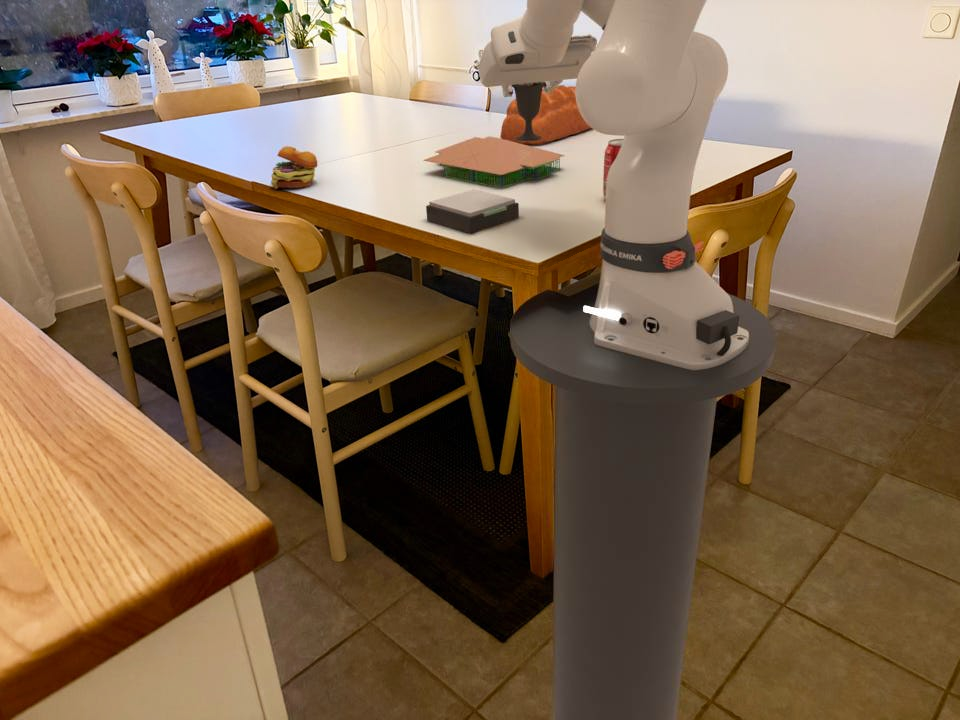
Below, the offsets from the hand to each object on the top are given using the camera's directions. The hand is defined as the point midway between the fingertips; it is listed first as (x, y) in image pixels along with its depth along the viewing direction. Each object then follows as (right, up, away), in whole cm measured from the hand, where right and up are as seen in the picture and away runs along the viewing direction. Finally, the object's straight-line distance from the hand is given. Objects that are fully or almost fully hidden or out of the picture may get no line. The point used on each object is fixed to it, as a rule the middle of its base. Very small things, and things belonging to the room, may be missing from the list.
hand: (527, 92), depth 139 cm
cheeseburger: (-53, -9, +38) cm, 66 cm away
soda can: (+20, -17, +16) cm, 31 cm away
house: (-6, -4, +43) cm, 43 cm away
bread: (+11, +16, +79) cm, 82 cm away
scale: (-10, -22, +8) cm, 26 cm away
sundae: (+1, -8, +3) cm, 9 cm away
